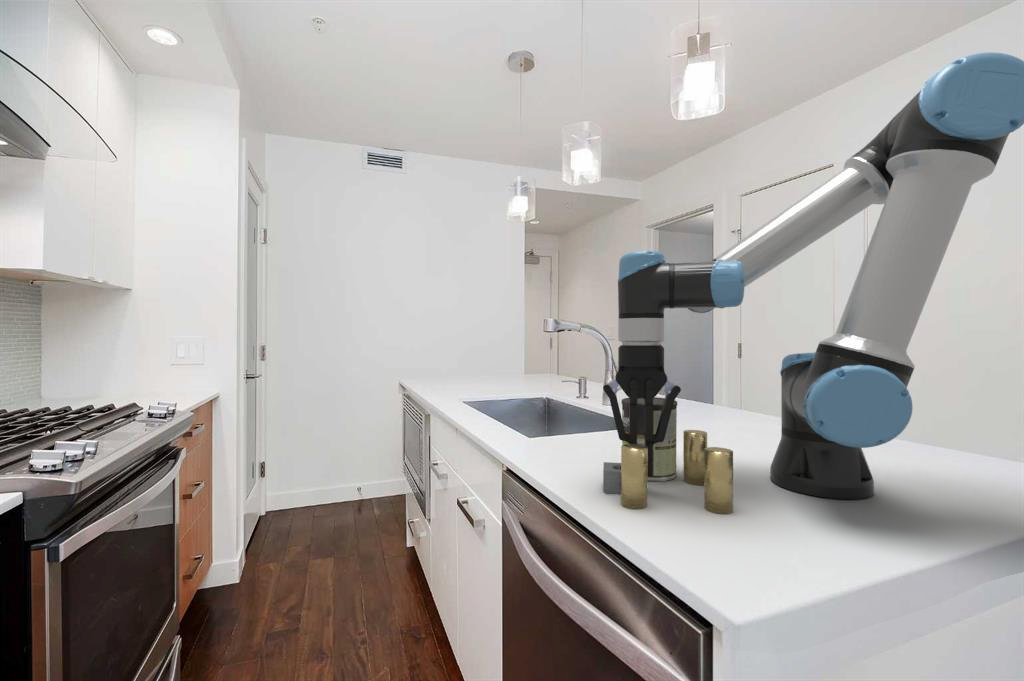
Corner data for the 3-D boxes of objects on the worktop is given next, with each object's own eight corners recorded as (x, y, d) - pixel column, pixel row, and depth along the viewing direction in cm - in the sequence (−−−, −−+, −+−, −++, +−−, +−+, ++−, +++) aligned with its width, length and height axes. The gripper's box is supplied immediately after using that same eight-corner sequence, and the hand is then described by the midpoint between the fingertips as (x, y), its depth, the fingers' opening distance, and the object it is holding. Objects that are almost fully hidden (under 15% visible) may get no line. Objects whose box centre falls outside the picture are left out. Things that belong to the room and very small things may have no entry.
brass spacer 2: (704, 479, 86) (704, 430, 85) (709, 485, 82) (709, 434, 82) (681, 477, 86) (681, 429, 86) (685, 484, 82) (685, 433, 82)
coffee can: (624, 480, 85) (624, 403, 85) (619, 465, 95) (619, 396, 95) (683, 482, 83) (683, 404, 83) (671, 466, 94) (671, 397, 93)
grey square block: (635, 486, 82) (635, 463, 82) (637, 496, 77) (637, 472, 77) (603, 484, 83) (603, 461, 83) (603, 494, 78) (603, 470, 78)
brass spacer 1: (645, 500, 74) (646, 444, 74) (648, 510, 70) (649, 451, 70) (620, 498, 75) (620, 443, 75) (621, 508, 71) (621, 449, 71)
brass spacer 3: (729, 505, 72) (729, 447, 72) (736, 515, 68) (736, 454, 68) (701, 503, 73) (701, 446, 73) (707, 513, 69) (707, 452, 69)
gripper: (677, 343, 81) (677, 477, 82) (602, 343, 84) (602, 473, 84) (684, 344, 74) (684, 491, 74) (601, 344, 77) (601, 486, 77)
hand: (640, 482), depth 79 cm, fingers closed
